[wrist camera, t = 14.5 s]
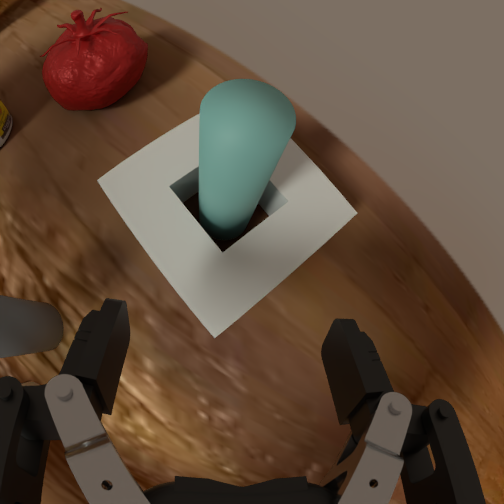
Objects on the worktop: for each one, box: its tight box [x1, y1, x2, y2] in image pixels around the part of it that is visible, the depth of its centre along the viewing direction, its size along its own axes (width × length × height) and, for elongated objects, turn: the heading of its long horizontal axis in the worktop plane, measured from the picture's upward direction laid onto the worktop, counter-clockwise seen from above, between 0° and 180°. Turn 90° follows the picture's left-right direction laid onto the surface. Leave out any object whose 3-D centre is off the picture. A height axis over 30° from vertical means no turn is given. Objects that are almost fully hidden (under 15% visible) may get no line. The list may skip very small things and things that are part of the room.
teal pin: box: [199, 79, 296, 240], centre depth 16 cm, size 4×4×12 cm
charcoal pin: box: [0, 295, 63, 358], centre depth 14 cm, size 4×4×8 cm
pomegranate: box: [40, 8, 148, 111], centre depth 18 cm, size 10×10×9 cm
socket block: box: [97, 114, 357, 338], centre depth 20 cm, size 12×12×4 cm
